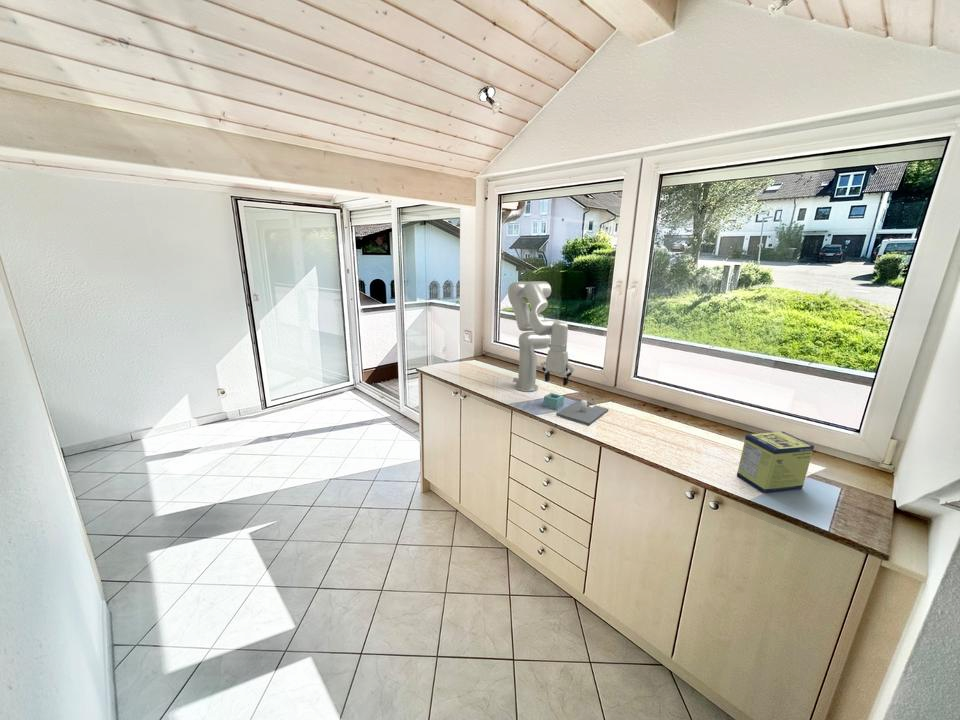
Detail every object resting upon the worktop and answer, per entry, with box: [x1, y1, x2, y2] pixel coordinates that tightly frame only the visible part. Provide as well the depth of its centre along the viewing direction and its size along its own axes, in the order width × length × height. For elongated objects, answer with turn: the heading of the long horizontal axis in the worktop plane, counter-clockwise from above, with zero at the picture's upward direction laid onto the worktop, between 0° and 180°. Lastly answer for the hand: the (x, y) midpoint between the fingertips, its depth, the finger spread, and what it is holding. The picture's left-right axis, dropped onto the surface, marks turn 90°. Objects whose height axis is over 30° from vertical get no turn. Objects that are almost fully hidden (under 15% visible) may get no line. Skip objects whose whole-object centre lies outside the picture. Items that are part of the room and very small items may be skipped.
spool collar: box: [543, 392, 565, 410], centre depth 184 cm, size 7×7×5 cm
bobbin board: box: [555, 399, 609, 426], centre depth 175 cm, size 16×22×6 cm
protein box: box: [736, 431, 815, 494], centre depth 122 cm, size 10×16×16 cm
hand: (556, 383), depth 181 cm, fingers open, 9 cm apart
